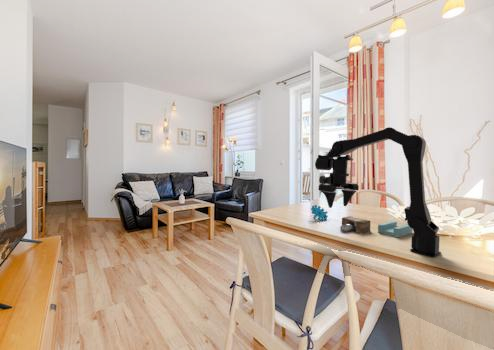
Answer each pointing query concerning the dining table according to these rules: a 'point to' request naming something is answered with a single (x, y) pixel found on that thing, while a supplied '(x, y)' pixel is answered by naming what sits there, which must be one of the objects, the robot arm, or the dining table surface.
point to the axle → (348, 227)
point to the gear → (319, 213)
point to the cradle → (394, 229)
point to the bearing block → (357, 223)
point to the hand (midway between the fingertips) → (337, 206)
